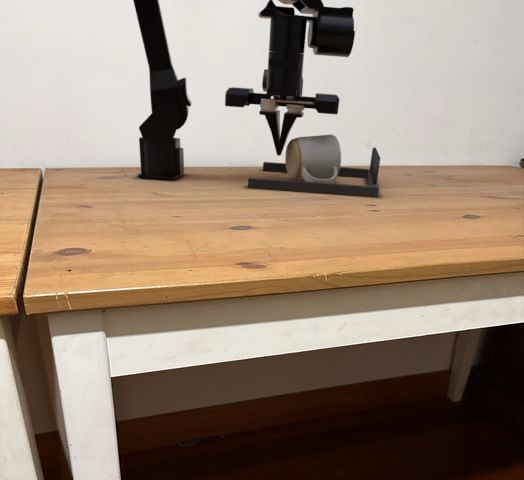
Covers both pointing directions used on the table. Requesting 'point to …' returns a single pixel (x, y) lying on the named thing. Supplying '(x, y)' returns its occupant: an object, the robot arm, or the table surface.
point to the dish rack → (323, 187)
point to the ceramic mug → (313, 158)
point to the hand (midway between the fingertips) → (279, 155)
